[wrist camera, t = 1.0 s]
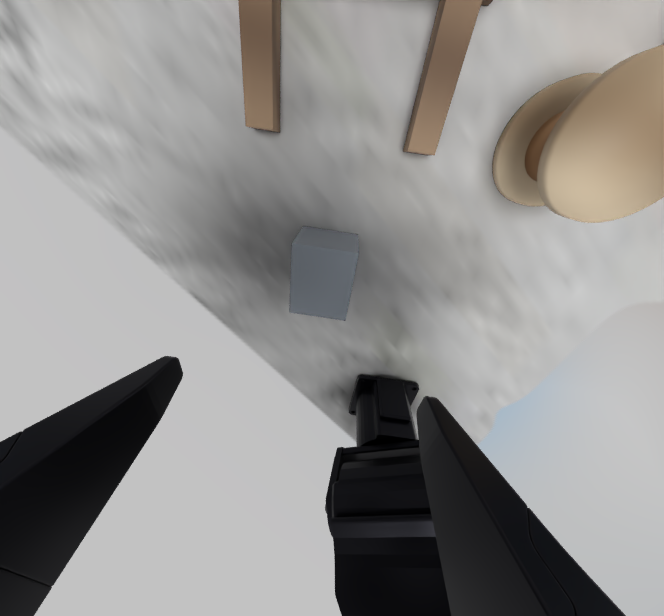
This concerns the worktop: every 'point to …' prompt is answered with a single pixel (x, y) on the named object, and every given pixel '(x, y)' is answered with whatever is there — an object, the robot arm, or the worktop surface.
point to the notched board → (435, 83)
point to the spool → (589, 143)
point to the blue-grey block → (322, 272)
